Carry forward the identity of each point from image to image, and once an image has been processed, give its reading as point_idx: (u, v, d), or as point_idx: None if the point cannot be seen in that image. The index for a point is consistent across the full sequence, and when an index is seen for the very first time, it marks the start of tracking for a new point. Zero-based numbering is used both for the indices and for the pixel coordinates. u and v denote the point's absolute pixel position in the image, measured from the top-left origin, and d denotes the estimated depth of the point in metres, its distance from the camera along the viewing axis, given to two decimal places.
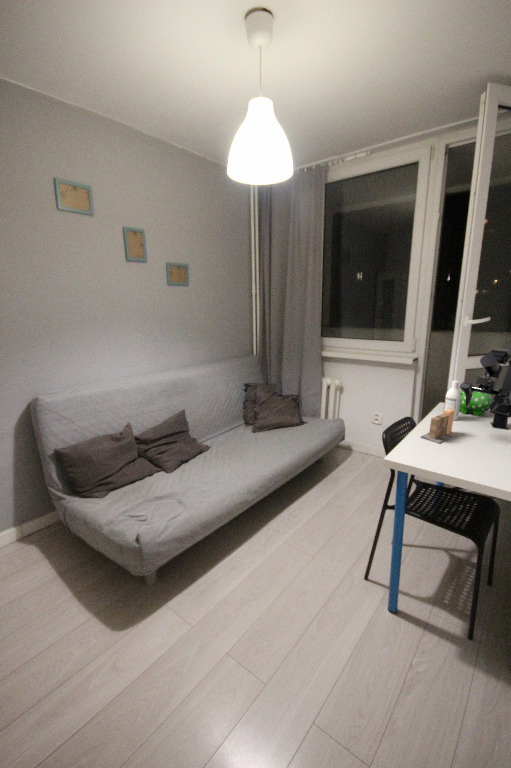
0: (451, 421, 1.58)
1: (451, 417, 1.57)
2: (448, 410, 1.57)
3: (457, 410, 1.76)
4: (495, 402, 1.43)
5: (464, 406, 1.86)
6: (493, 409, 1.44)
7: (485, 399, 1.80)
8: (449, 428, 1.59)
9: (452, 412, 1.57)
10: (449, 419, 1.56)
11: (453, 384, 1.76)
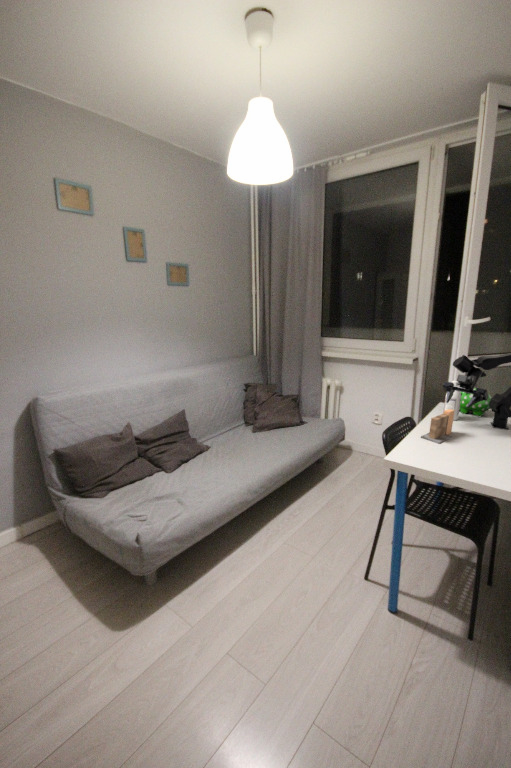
0: (451, 421, 1.58)
1: (451, 417, 1.57)
2: (448, 410, 1.57)
3: (457, 410, 1.76)
4: (472, 399, 1.57)
5: (464, 406, 1.86)
6: (470, 405, 1.58)
7: None
8: (449, 428, 1.59)
9: (452, 412, 1.57)
10: (449, 419, 1.56)
11: None
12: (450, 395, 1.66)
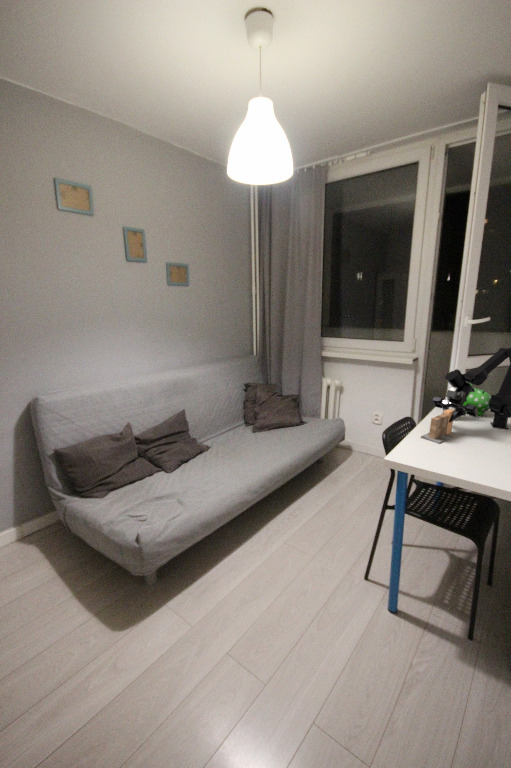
0: None
1: None
2: (448, 410, 1.57)
3: None
4: (454, 413, 1.56)
5: None
6: (452, 419, 1.56)
7: (485, 399, 1.80)
8: (449, 428, 1.59)
9: (452, 412, 1.57)
10: (449, 419, 1.56)
11: None
12: None
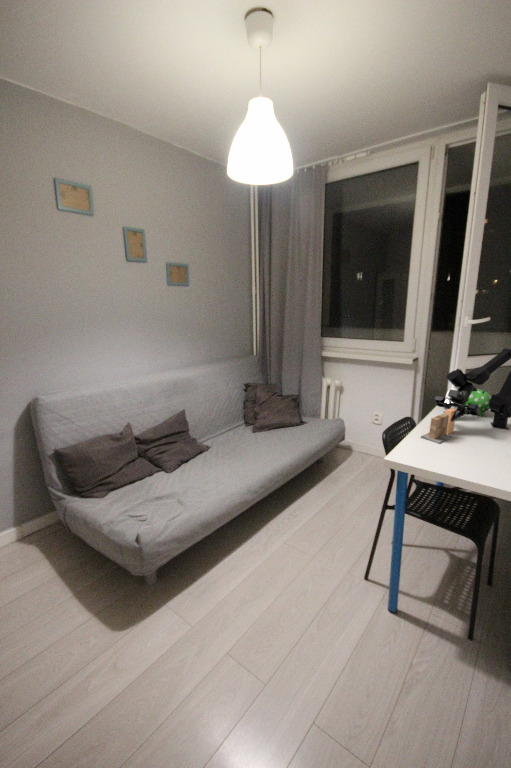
0: None
1: None
2: (450, 409, 1.59)
3: None
4: (456, 412, 1.57)
5: None
6: (454, 418, 1.58)
7: (485, 399, 1.80)
8: (451, 427, 1.60)
9: (454, 411, 1.58)
10: (451, 418, 1.58)
11: None
12: None
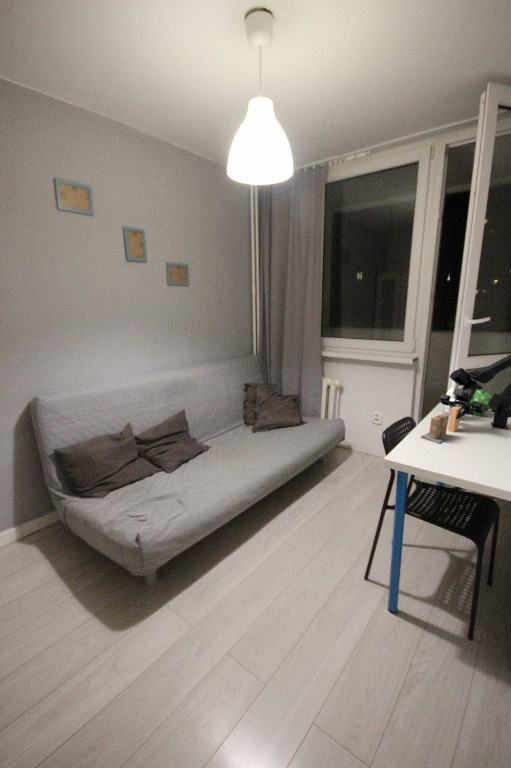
0: None
1: None
2: (455, 407, 1.62)
3: None
4: (461, 410, 1.60)
5: None
6: (459, 416, 1.60)
7: (485, 399, 1.80)
8: (457, 425, 1.63)
9: (459, 409, 1.61)
10: (456, 416, 1.61)
11: (453, 384, 1.76)
12: None
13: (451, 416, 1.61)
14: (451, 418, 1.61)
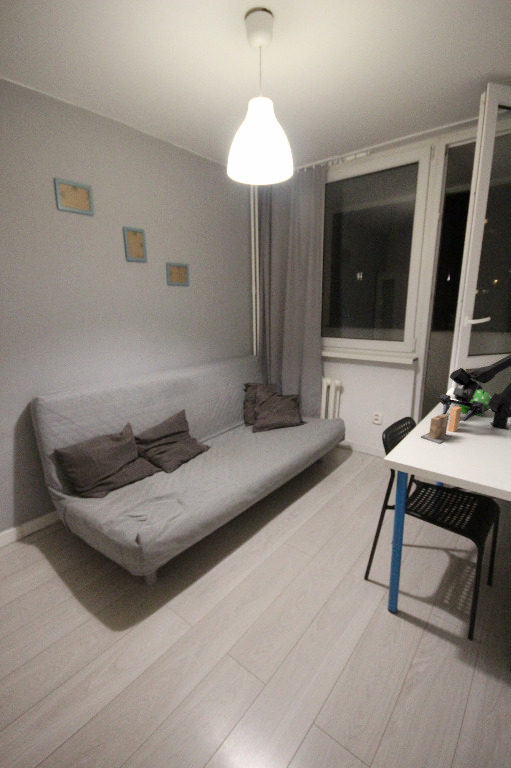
0: (458, 418, 1.62)
1: (458, 414, 1.61)
2: (455, 407, 1.62)
3: None
4: (469, 412, 1.58)
5: (464, 406, 1.86)
6: (466, 418, 1.58)
7: (485, 399, 1.80)
8: (457, 425, 1.63)
9: (459, 409, 1.61)
10: (456, 416, 1.61)
11: (453, 384, 1.76)
12: (447, 408, 1.67)
13: (451, 416, 1.61)
14: (451, 418, 1.61)
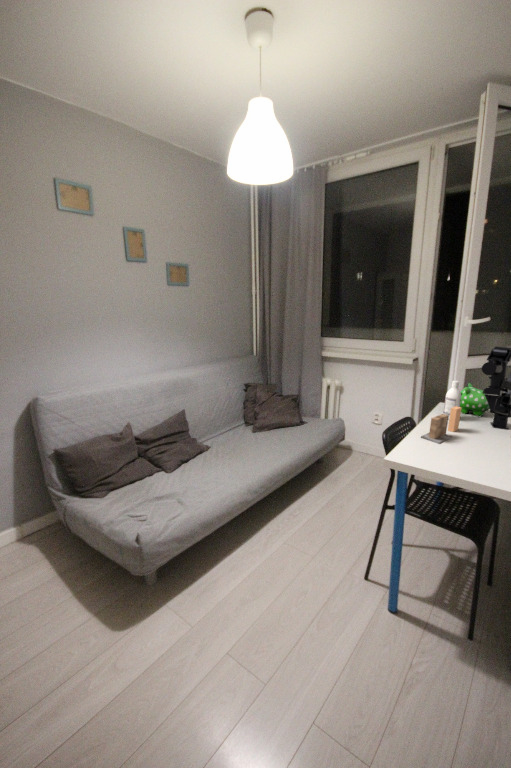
0: (458, 418, 1.62)
1: (458, 414, 1.61)
2: (455, 407, 1.62)
3: None
4: (502, 399, 1.60)
5: (464, 406, 1.86)
6: None
7: (485, 399, 1.80)
8: (457, 425, 1.63)
9: (459, 409, 1.61)
10: (456, 416, 1.61)
11: (453, 384, 1.76)
12: None
13: (451, 416, 1.61)
14: (451, 418, 1.61)
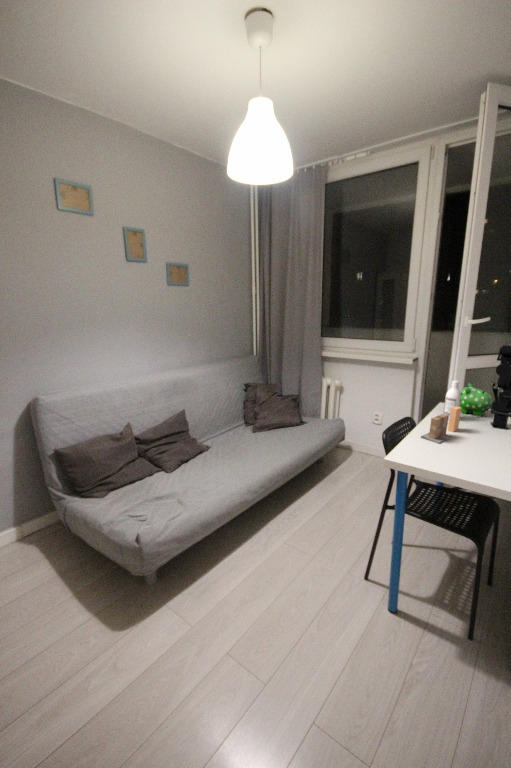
0: (458, 418, 1.62)
1: (458, 414, 1.61)
2: (455, 407, 1.62)
3: None
4: None
5: (464, 406, 1.86)
6: None
7: (485, 399, 1.80)
8: (457, 425, 1.63)
9: (459, 409, 1.61)
10: (456, 416, 1.61)
11: (453, 384, 1.76)
12: None
13: (451, 416, 1.61)
14: (451, 418, 1.61)
